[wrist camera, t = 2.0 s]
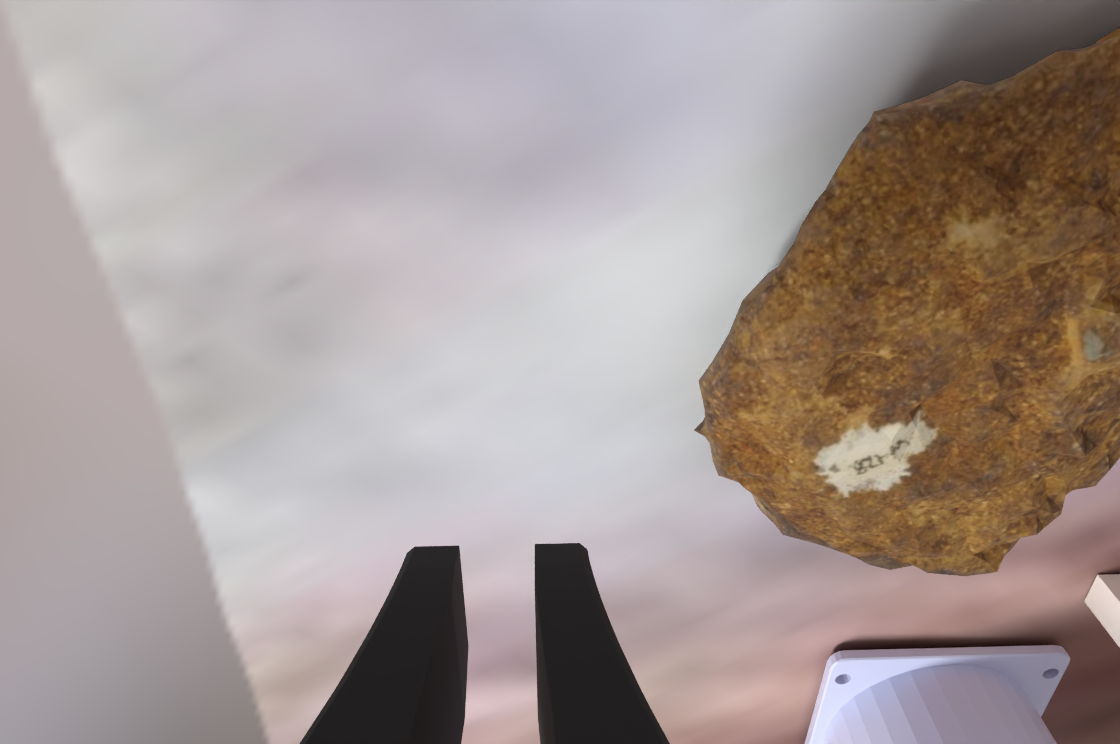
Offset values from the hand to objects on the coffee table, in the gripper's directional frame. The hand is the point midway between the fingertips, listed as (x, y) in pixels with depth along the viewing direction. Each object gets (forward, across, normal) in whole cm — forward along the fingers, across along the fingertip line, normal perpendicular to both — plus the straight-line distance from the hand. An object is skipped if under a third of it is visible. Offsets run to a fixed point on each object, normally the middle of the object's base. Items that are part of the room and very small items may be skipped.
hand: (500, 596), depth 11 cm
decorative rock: (+10, -11, 0) cm, 15 cm away
